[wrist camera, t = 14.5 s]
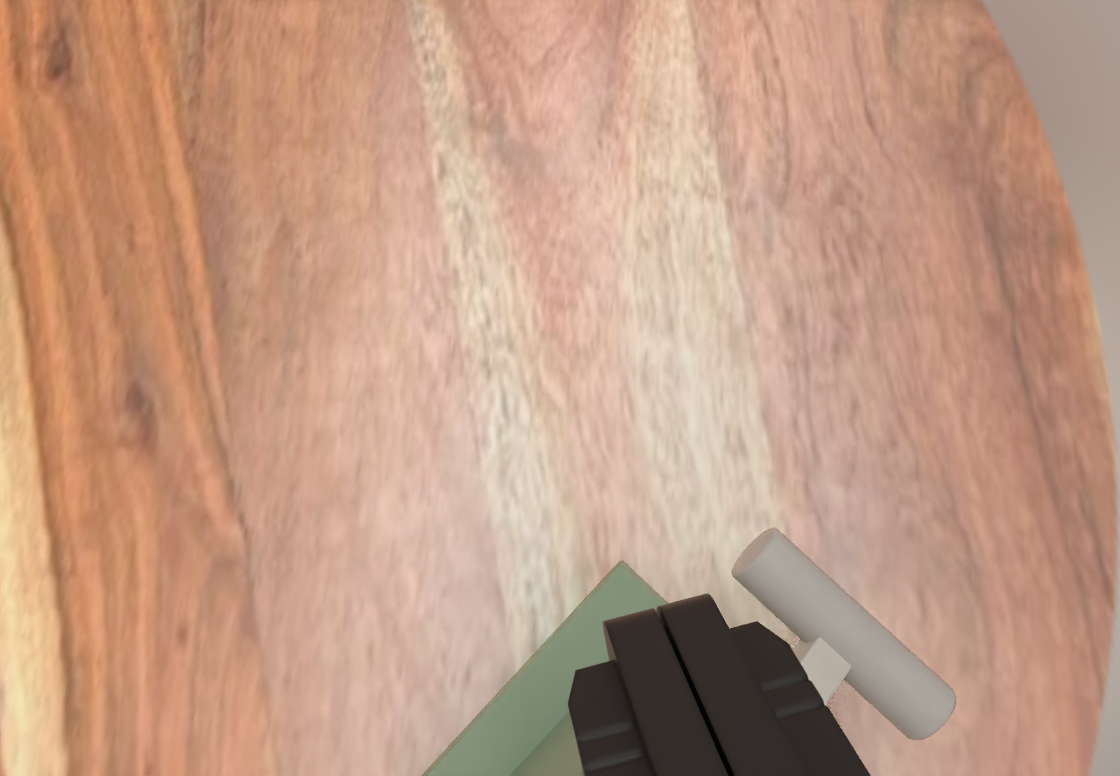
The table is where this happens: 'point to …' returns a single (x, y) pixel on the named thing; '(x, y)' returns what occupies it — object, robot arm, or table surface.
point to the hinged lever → (843, 638)
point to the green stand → (545, 693)
